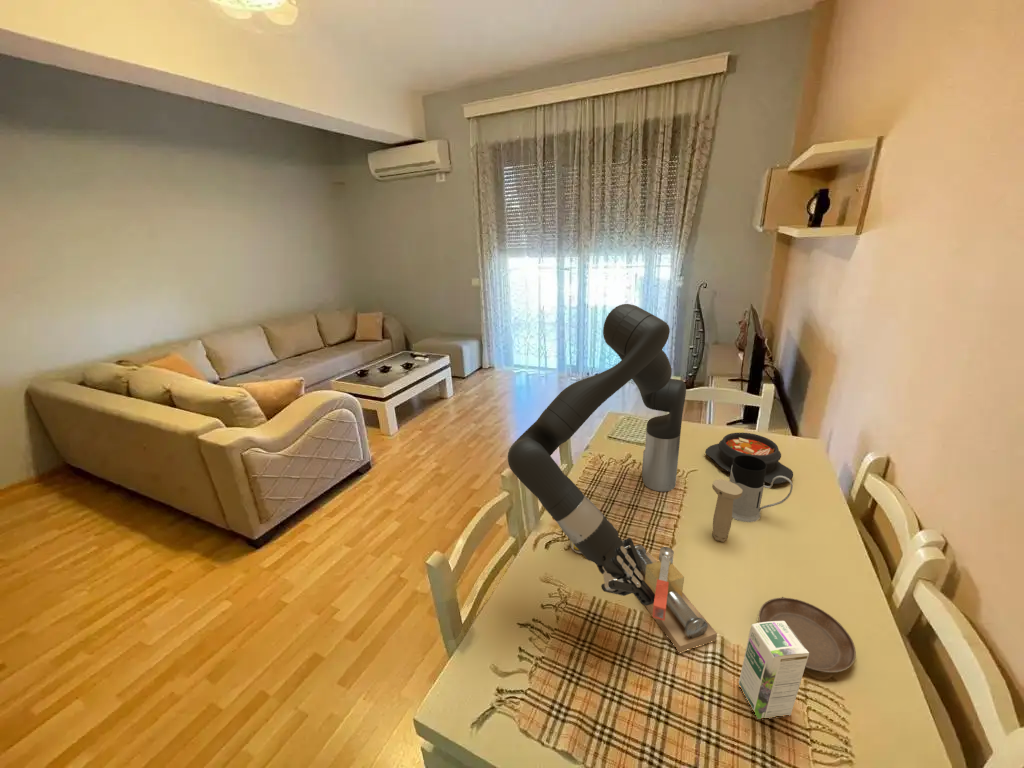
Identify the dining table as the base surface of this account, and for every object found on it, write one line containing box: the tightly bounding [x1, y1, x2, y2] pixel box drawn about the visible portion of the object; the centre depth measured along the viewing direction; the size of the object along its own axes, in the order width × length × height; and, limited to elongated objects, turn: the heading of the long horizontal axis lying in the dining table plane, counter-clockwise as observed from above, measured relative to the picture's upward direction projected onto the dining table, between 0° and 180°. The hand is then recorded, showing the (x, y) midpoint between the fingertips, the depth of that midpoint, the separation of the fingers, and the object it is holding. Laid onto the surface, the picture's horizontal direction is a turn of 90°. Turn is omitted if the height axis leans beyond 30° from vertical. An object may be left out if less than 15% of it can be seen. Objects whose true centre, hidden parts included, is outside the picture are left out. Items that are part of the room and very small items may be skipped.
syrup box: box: [738, 621, 809, 720], centre depth 67 cm, size 6×6×14 cm
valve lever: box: [651, 546, 675, 621], centre depth 78 cm, size 15×3×3 cm, turn 156°
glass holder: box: [728, 455, 794, 523], centre depth 108 cm, size 9×14×15 cm, turn 50°
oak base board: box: [627, 551, 718, 654], centre depth 88 cm, size 22×8×2 cm, turn 16°
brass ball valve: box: [632, 544, 708, 639], centre depth 86 cm, size 21×5×9 cm, turn 16°
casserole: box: [705, 432, 794, 485], centre depth 130 cm, size 25×19×8 cm
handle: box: [711, 478, 743, 543], centre depth 101 cm, size 5×6×15 cm
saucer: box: [758, 597, 857, 674], centre depth 78 cm, size 15×15×3 cm
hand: (650, 601), depth 76 cm, fingers closed
